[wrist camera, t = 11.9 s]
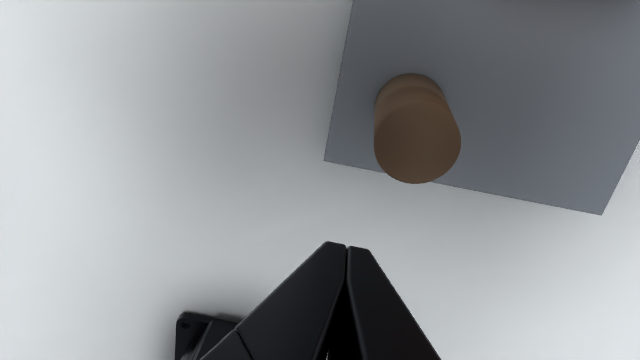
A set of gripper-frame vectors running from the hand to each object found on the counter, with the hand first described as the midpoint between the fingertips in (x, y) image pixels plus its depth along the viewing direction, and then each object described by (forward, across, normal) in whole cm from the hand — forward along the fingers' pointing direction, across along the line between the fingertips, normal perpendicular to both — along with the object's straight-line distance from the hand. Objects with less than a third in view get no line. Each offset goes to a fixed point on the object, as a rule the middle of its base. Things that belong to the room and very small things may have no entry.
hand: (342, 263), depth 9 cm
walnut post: (+12, -2, 0) cm, 12 cm away
